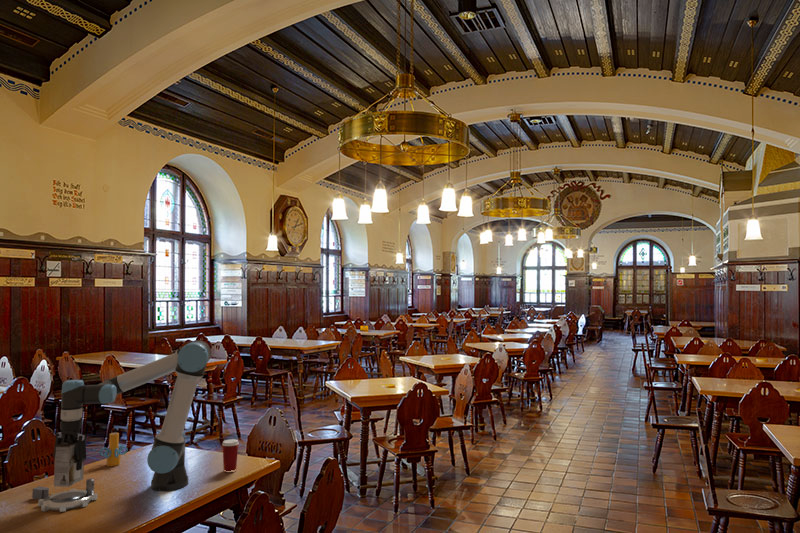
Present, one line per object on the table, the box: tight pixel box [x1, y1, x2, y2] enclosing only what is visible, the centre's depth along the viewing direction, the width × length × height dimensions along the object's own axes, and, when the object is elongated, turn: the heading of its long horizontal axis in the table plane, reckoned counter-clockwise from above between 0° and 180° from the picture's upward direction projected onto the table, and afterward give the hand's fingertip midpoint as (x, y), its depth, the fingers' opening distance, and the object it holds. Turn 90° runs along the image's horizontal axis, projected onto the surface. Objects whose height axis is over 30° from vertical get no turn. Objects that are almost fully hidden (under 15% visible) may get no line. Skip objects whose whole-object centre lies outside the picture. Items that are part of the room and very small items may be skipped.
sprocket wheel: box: [37, 478, 98, 513], centre depth 218 cm, size 20×20×8 cm
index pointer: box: [31, 485, 50, 501], centre depth 223 cm, size 7×3×4 cm, turn 72°
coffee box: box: [53, 442, 85, 488], centre depth 219 cm, size 9×6×16 cm
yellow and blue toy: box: [99, 432, 129, 467], centre depth 267 cm, size 12×10×15 cm
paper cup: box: [221, 438, 240, 471], centre depth 259 cm, size 8×8×14 cm
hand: (68, 477), depth 219 cm, fingers closed on coffee box, 7 cm apart
